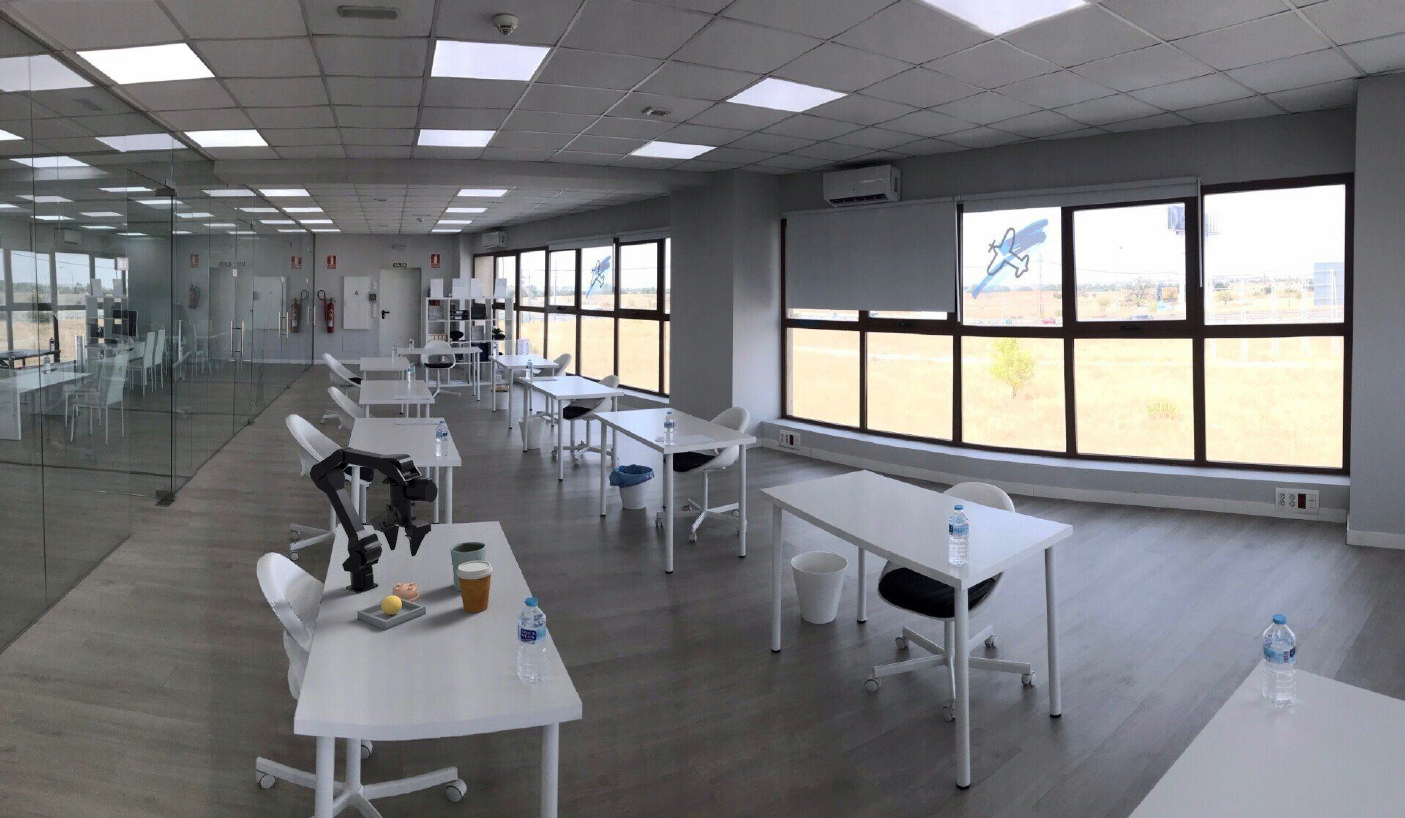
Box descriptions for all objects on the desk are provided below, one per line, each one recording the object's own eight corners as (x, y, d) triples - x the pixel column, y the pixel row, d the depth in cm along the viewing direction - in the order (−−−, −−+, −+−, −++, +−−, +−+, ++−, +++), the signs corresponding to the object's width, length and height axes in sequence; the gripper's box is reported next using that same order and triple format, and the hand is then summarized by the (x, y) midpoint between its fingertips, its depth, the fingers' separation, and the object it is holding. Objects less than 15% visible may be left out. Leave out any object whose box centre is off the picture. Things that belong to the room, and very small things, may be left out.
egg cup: (385, 599, 208) (384, 587, 208) (408, 590, 215) (407, 578, 214) (402, 605, 204) (401, 592, 204) (425, 596, 211) (425, 584, 210)
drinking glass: (459, 595, 212) (457, 554, 210) (446, 584, 220) (444, 545, 218) (492, 587, 218) (491, 547, 217) (479, 577, 226) (478, 539, 225)
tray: (357, 619, 195) (357, 611, 195) (397, 604, 205) (397, 596, 205) (386, 629, 189) (385, 622, 188) (425, 613, 199) (425, 606, 198)
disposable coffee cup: (483, 616, 197) (482, 573, 196) (450, 613, 199) (449, 570, 198) (500, 602, 207) (499, 561, 205) (468, 599, 209) (467, 558, 207)
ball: (377, 615, 196) (376, 597, 196) (394, 609, 200) (393, 591, 200) (389, 619, 193) (388, 600, 193) (406, 612, 198) (405, 594, 197)
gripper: (354, 500, 207) (357, 554, 209) (396, 511, 197) (399, 567, 199) (389, 492, 216) (392, 544, 219) (431, 502, 207) (433, 556, 209)
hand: (403, 552), depth 211 cm, fingers open, 9 cm apart
